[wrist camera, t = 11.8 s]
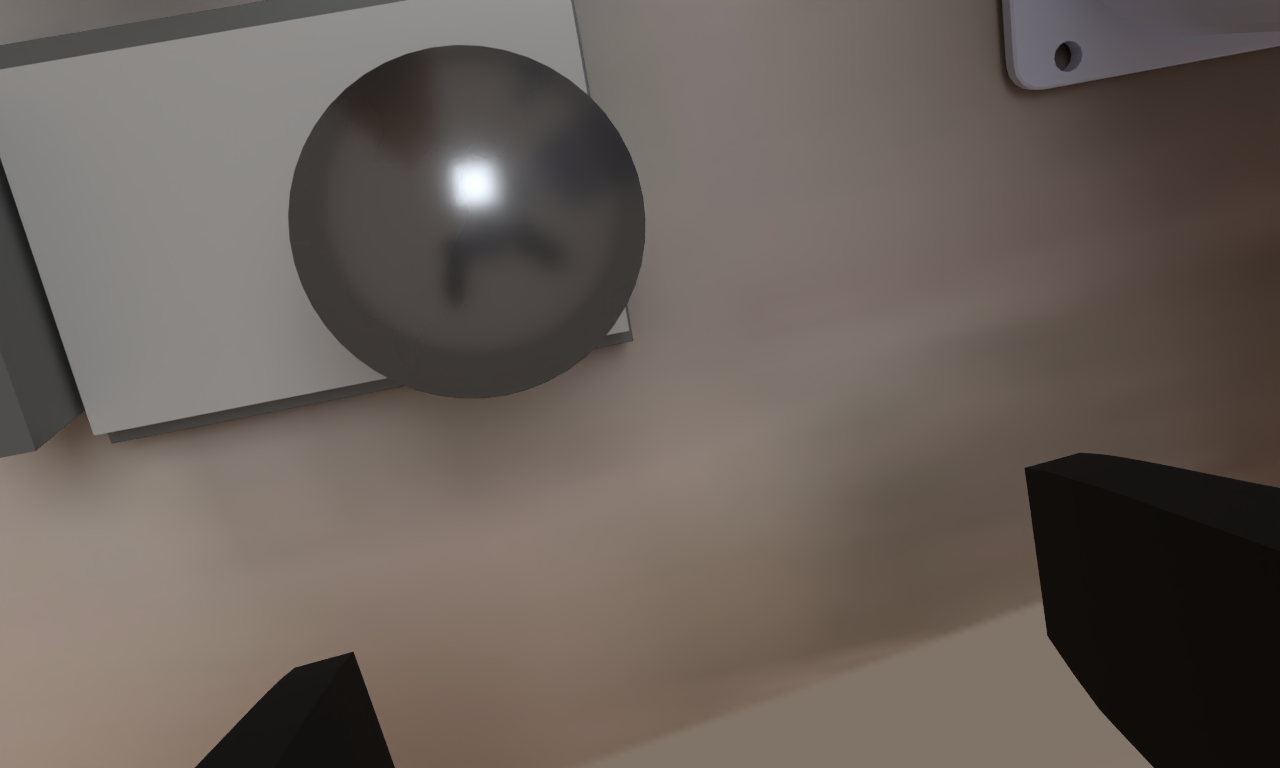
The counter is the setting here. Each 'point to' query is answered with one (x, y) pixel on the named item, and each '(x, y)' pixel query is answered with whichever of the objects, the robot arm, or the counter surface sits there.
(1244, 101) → the counter surface
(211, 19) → the dial scale
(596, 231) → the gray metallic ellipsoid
